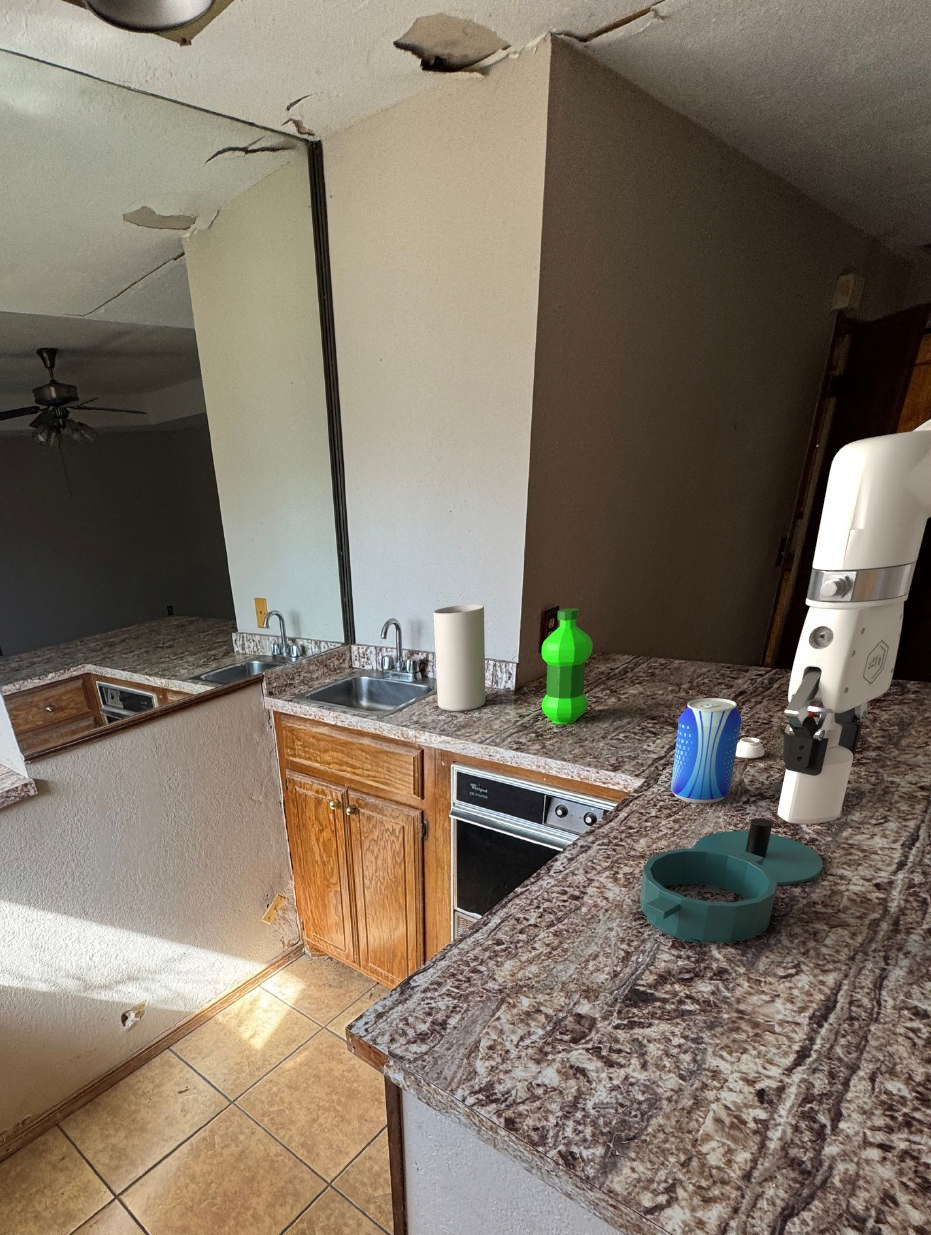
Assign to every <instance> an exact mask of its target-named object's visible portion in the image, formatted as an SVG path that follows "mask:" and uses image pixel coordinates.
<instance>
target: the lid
mask: <svg viewBox="0 0 931 1235" xmlns="http://www.w3.org/2000/svg"><path fill="white" fill-rule="evenodd" d="M773 824H774V823H773V821H772V820H770V819H769V818H763V817H755V818H752V819H751V820H750V824H749V828H748V829H749V830H728V831H720V832H715V833H711V834H708V835H706V836H703V837H701V838H700V839H698V840H697V841H696V842H695V844H694V845H693V849H710V850H716V851H722V852H728V853H733V854H736V855H738V854H740V853H742V852H744V851H745V852H748V853H751V854H754V855H757V856H760V857H763V858H764V860H763V864H762V865H761V866H763V867H764V868H766V869H768V870H769V871H770V872H771V873H772V875H773V876H774V878H775V879H776V881H777V883H778V884H777V886H789V885H798V884H803V883H806V882H809V881H811V880H813V879H815V878H816V877H818V876H819V875H820V874H821V872H822V869H823V866H824V865H823V864H824V862H823V860H822V858H821V856H820V855H819V854H818V853H817V852H816V851H815V850H814V849H812V848H811V847H809V846H807V845H806V844H803V843H801V842H799V841H797V840H795V839H791V838H789V837H785V836H783V835H782V836H781V835H777V834H773V833H772V828H773ZM771 833H772V834H771Z"/></svg>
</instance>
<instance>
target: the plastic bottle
mask: <svg viewBox="0 0 931 1235" xmlns="http://www.w3.org/2000/svg"><path fill="white" fill-rule="evenodd" d="M579 616H580V609H579V608H578V607H576V608H572V607H571V608H570V607H569V608H563V609H559V610H557V620H558V621H559V627H558V628H556V629H555V630H554V631H553V632H552V633H551V634H550V635H549V636H548V637H547V638H546V639H545V640H543V643H542V646H541V656H542V660H544V662H546V664H547V666H546V667H547V668H546V694H545V696H544V697H543V700H542V702H541V709H542V712H543V714H544V715H545V716H546V717H547V718H548V719H549V720H551V722H552V723H553V724H558V725H568V724H569V725H570V724H573V723H575V722H576V721H577V720H578V719H579V718H581V717H582V716H583V714H585V712H586V711H587V709H588V704H589V702H588V699H587V696H586V694H585V675H586V674H585V672H586V661H587V660H588V659H590V657H591V656H592V652H593V644H594V643H593V640H592V638H591V637H590V636H589V635H588V634H587V633H586V632H585V631H583V630H582V629H581V628H579V627H578V626H577V623H576V622H577V619H579Z"/></svg>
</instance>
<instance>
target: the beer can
mask: <svg viewBox="0 0 931 1235" xmlns="http://www.w3.org/2000/svg"><path fill="white" fill-rule="evenodd" d="M737 705H738V704H737V702H736V701H734V700H731V699H727V698H719V697H705V698H697V699H692V700H690V701H688V702H687V707H686V708H685V709H684V711H683V712H682V713H681V714H680V716H679V718H678V725H677V733H676V741H675V742H676V743H675V750H674V758H673V767H672V775H671V785H670V791H671V792H672V794H673V795H674V796H675V797H676V798H677V799H679V800H681V801H684V802H687V803H693V804H713V803H718V802H721V801H723V800H724V799H725V798H726V797H728V796H729V795H730V792H731V786H732V780H733V775H734V768H735V762H736V757H737V756H736V750H737V744H738V742H739V738H740V732H741V725H742V716H741V714H740V712H739V711H738V708H737V707H738V706H737Z"/></svg>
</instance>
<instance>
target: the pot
mask: <svg viewBox="0 0 931 1235" xmlns="http://www.w3.org/2000/svg"><path fill="white" fill-rule="evenodd" d="M763 860H764V858H763V857H760V856H757V855H754V854H751V853H748V852H745V851H744V852H742V853H740V854H738V855H736V854H733V853H728V852H722V851H716V850H710V849H694V848H678V849H672V850H665V851H662V852H660V853H658V854H656V855H654V856H652V857H650V858H648V859H647V861H646V863H645V864H644V866H643V868H642V877H641V884H640V885H641V886H640V895H639V904H640V908H641V911H642V913H643V915H645V916H644V919H645V920H646V921H647V922H648V923H649V924H650V925H651V926H653V927H654V928H656V929H657V930H659V931H661V932H662V933H665V934H666V935H669V936H671V937H674V938H677V939H679V940H682V941H685V942H689V943H693V944H699V945H702V942H710V943H711V942H712V943H713V942H715V943H735V942H736V943H737V942H741V941H746V940H752V939H754V938H755V937H758V936H759V935H761V934H762V933H764V932H766V931H767V930H768V927H769V923H770V920H771V916H772V911H773V906H774V903H775V898H776V892H777V888H778V885H777V884H778V883H777V881H776V879H775V878H774V876H773V875H772V873H771V872H770V871H769V870H768V869H766V868H764V867H763V866H761V865H762V864H763ZM678 885H699V886H701V885H702V886H707V887H713V888H718V889H722V890H725V891H727V892H729V893H733V894H735V895H738V896H740V897H742V898H744V899H745V900H739V901H733V902H732V901H731V902H729V901H728V902H727V901H708V900H702V899H698V898H693V897H688V896H684V895H682V894H679V893H677V892H675V891H672V890H670V889H668V888H666V887H672V886H678ZM699 941H700V942H699Z"/></svg>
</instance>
